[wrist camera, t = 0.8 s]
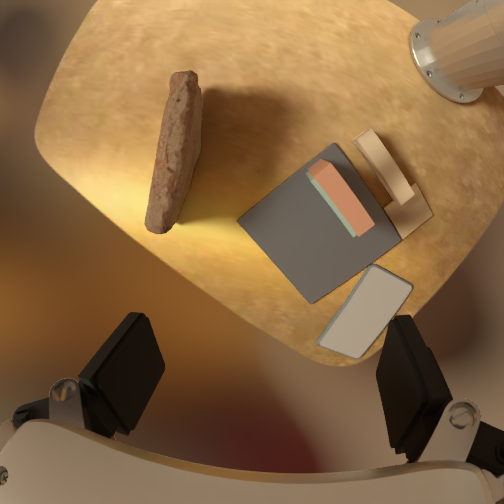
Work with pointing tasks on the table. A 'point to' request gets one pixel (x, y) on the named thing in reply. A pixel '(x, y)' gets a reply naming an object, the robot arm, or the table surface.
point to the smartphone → (365, 312)
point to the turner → (394, 185)
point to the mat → (317, 230)
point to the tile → (339, 197)
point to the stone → (175, 152)
